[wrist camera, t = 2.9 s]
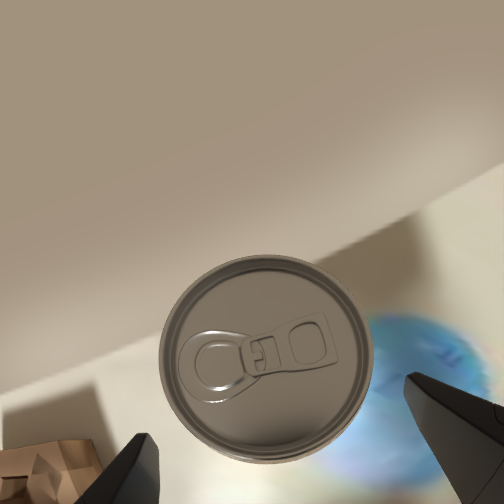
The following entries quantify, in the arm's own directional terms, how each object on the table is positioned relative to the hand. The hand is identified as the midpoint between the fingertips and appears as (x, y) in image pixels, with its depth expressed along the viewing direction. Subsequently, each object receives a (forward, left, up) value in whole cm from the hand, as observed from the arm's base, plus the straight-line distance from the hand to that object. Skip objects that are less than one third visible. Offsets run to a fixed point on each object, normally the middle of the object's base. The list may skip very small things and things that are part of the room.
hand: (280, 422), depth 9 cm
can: (+2, +1, -9) cm, 10 cm away
